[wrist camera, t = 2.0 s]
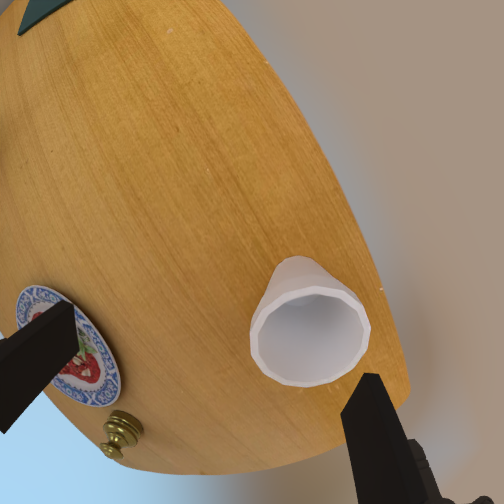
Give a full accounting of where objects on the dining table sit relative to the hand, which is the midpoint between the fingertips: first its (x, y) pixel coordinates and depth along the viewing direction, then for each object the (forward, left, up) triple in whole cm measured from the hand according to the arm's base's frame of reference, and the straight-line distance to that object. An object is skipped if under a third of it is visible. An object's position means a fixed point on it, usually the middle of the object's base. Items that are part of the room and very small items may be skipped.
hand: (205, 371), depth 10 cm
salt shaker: (+28, +35, -22) cm, 49 cm away
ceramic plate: (+35, +17, -22) cm, 44 cm away
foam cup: (-5, +5, -22) cm, 23 cm away
